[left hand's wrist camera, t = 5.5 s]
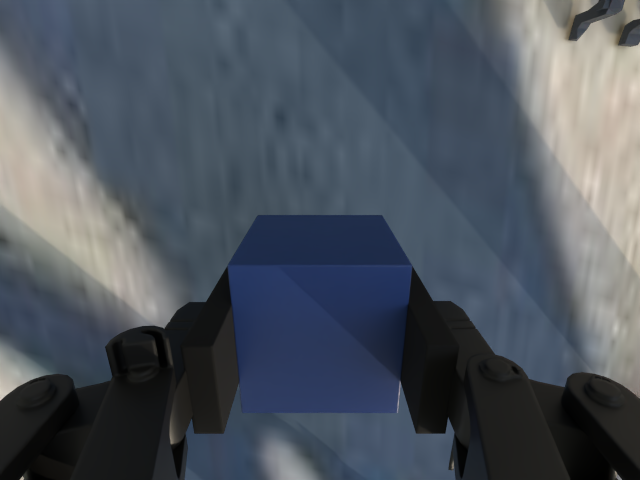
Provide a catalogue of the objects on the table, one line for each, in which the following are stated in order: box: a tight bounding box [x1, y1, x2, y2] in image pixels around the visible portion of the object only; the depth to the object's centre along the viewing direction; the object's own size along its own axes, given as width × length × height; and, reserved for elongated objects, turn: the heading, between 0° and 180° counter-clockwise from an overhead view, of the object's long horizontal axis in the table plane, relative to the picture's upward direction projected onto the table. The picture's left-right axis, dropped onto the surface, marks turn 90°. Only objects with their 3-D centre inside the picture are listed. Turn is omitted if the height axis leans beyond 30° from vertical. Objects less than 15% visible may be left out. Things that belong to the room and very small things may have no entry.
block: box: [228, 215, 412, 413], centre depth 13 cm, size 5×5×5 cm
